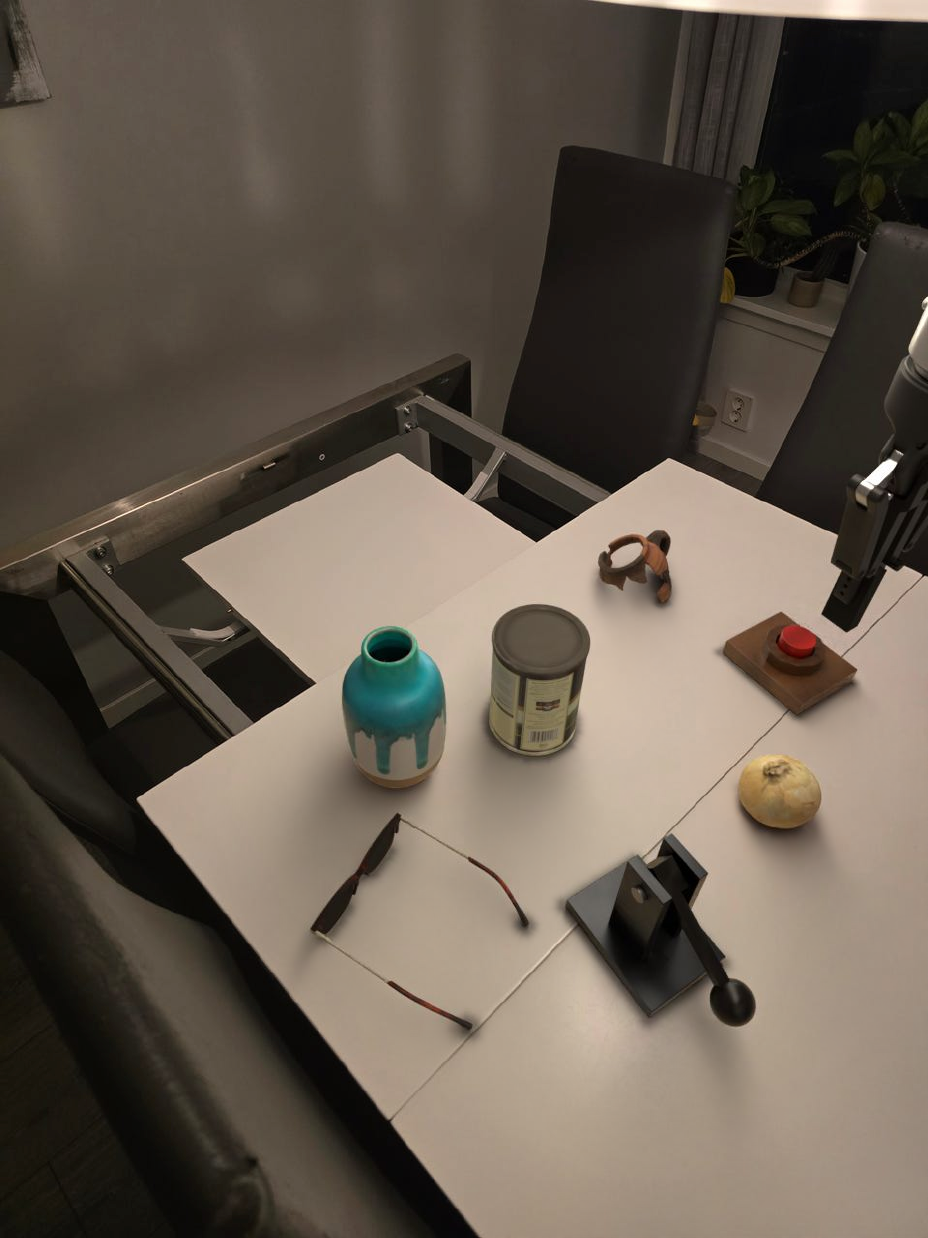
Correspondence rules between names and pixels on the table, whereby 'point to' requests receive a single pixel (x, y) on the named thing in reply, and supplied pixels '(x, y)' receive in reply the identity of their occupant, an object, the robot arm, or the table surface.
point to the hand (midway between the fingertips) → (839, 620)
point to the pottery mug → (639, 561)
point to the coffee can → (537, 678)
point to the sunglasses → (368, 866)
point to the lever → (705, 950)
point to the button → (796, 641)
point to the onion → (779, 791)
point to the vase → (394, 709)
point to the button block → (788, 665)
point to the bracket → (644, 927)
